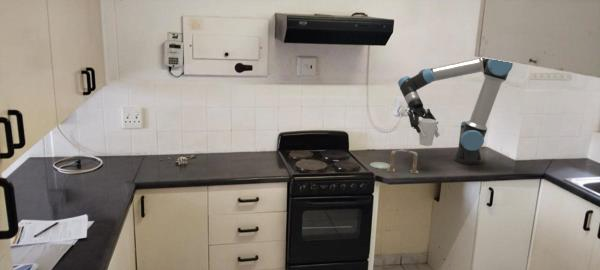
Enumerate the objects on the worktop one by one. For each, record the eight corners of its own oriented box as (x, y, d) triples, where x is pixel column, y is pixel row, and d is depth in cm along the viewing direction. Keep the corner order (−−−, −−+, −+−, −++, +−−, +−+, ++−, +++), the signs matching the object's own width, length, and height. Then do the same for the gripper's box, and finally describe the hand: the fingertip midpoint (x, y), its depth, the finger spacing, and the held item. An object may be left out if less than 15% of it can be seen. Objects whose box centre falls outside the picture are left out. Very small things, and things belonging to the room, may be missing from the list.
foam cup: (436, 146, 257) (439, 122, 254) (418, 146, 257) (421, 121, 254) (432, 142, 266) (434, 119, 263) (415, 141, 266) (417, 118, 263)
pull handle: (415, 169, 264) (417, 150, 261) (418, 173, 257) (420, 153, 254) (386, 167, 265) (388, 148, 262) (388, 171, 258) (389, 151, 255)
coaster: (389, 163, 273) (389, 162, 273) (391, 169, 262) (391, 168, 262) (369, 162, 274) (369, 161, 273) (370, 168, 263) (370, 167, 263)
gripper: (426, 105, 276) (442, 139, 266) (394, 106, 266) (410, 142, 256) (433, 97, 270) (450, 131, 260) (401, 98, 260) (417, 134, 250)
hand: (430, 136), depth 258 cm, fingers closed on foam cup, 9 cm apart
